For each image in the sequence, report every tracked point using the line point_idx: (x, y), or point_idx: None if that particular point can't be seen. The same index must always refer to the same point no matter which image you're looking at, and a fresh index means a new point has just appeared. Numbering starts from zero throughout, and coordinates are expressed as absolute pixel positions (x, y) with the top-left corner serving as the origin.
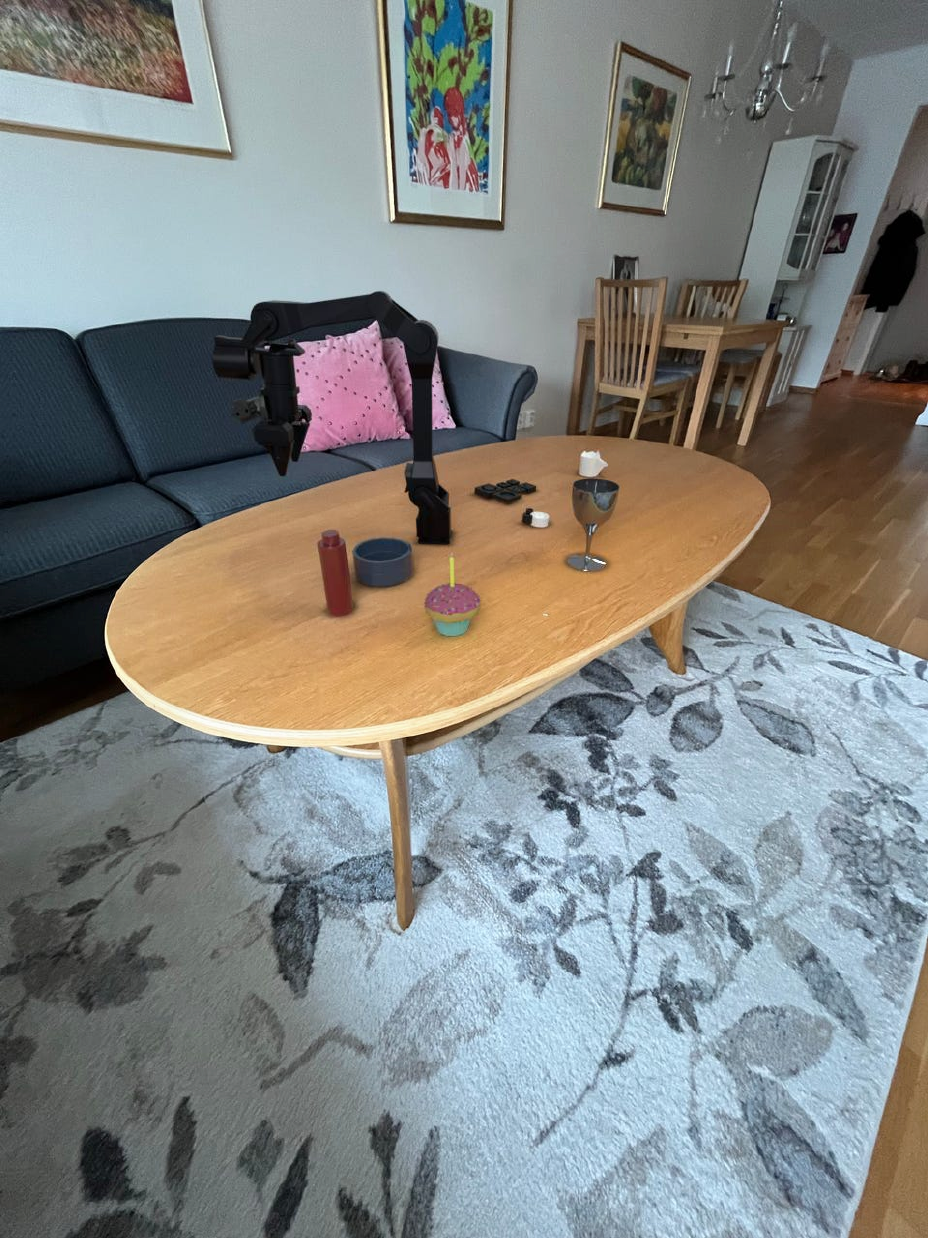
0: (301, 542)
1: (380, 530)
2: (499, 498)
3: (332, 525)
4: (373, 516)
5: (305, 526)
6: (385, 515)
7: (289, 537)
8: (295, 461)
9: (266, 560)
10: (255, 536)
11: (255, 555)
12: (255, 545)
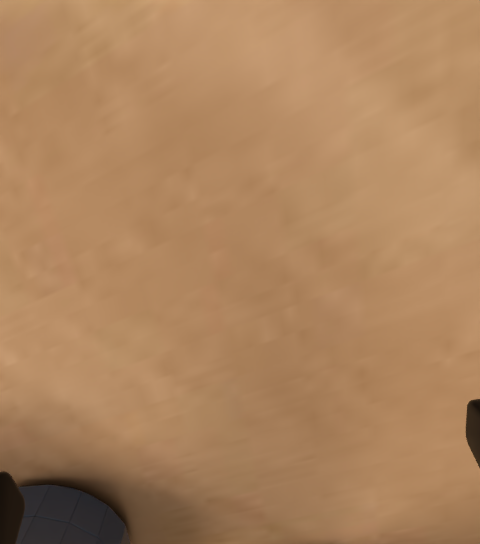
0: (205, 253)
1: (343, 454)
2: None
3: (377, 302)
4: None
5: (360, 204)
6: None
7: (241, 187)
8: (468, 426)
9: (26, 195)
10: (225, 22)
11: (49, 129)
12: (135, 77)
